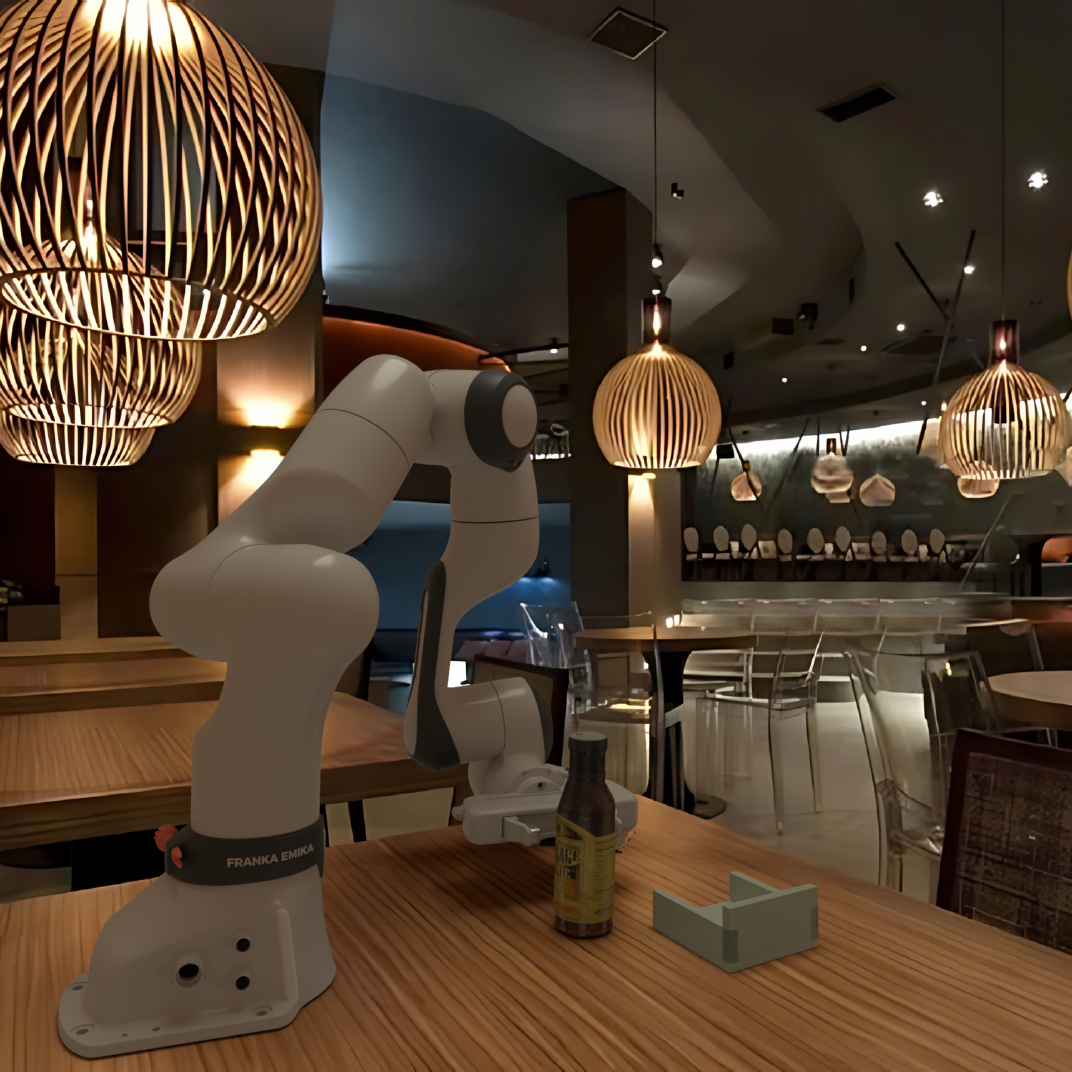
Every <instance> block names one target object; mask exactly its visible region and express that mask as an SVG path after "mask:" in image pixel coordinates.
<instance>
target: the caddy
mask: <svg viewBox="0 0 1072 1072" xmlns="http://www.w3.org/2000/svg"><path fill="white" fill-rule="evenodd" d="M652 928H653V929H654V930H657V931H658V932H659V933H662V934H663V935H665V936H666V937H668V938H669V939H671V940H673V941H675V942H677V943H679V944H680V945H682V946H683V947H686V948H687V949H689V950H690V951H692V952H693V953H695V954H697V955H699V956H700V957H702V958H703V959H705V960H706V961H709V962H711V963H712V964H713V965H714V966H715V965H716V966H717V967H719V968H720V969H722V970H724V971H725V972H727V973H729V974H732V973H735V972H738V971H742V970H746V969H748V968H751V967H755V966H758V965H761V964H762V965H763V964H764V963H769V962H771V961H774V960H778V959H781V958H785V957H788V956H790V955H795V954H797V953H801V952H805V951H808V950H810V949H814V948H817V947H819V886H818V885H815V884H813V883H806V884H801V885H798V886H794V887H789V888H786V889H779V888H776V887H775V886H774V887H773V886H772V885H769V884H767V883H765V882H762V881H760V880H757V879H755V878H754V877H751V876H749V875H747V874H745V873H742V872H739V871H737V870H736V871H731V872H729V900H727V901H723V902H718V903H715V904H710V905H709V904H708V905H706V906H702V907H701V906H700V907H697V906H695V905H693V904H691V903H690V902H687V901H685V900H684V899H681V898H680V897H678V896H676V895H674V894H672V893H670V892H668V891H666V890H665V889H662V888H657V889H656V888H655V889H652Z"/></svg>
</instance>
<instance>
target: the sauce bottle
mask: <svg viewBox="0 0 1072 1072" xmlns="http://www.w3.org/2000/svg"><path fill="white" fill-rule="evenodd" d="M608 738H609V737H608V736H607V735H606V734H605V733H602V732H597V731H587V730H585V731H584V730H583V731H575V732H572V733H570V734H569V735H568V741H567V748H568V750H569V760H568V761H569V763H568V764H569V765H568V766H569V767H568V768H569V772H568V774H569V776H568V779H567V782H566V784H565V787H564V790H563V793H562V796H561V799H560V802H559V804H558V807H557V810H556V836H555V837H554V838H555V840H554V889H553V890H554V891H553V910H554V913H555V914H554V917H555V923H554V924H555V926H556V927H557V929H558V930H559V931H561V932H563V933H565V934H567V935H570V936H571V937H573V938H574V937H575V938H592V937H597V936H602V935H604V934H607V933H609V932H610V931H611V929H612V928H613V924H614V922H613V916H614V913H615V884H616V882H615V880H616V879H615V878H616V877H615V876H616V850H617V849H616V827H615V800H614V797H613V796H612V793H611V792H610V790H609V788H608V786H607V784H606V782H605V779H606V775H607V772H606V752H607V751H608V747H609V746H608V745H609V744H608V742H609V740H608Z"/></svg>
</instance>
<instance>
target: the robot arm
mask: <svg viewBox="0 0 1072 1072" xmlns="http://www.w3.org/2000/svg"><path fill="white" fill-rule="evenodd" d="M537 400H538V399H537V398H536V395H535V392H534V391H533V390H532V388H531V387H530V385H529V384H528V383H527V381H526V380H525V379H524V378H523V377H522V375H520V374H518V373H515V372H512V371H508V370H505V369H497V368H485V369H483V370H477V369H475V370H474V369H448V368H447V369H445V368H444V369H443V368H442V369H434V370H427V371H423V370H422V369H421V368H420V367H418V365H417V364H415V363H413V362H411V361H410V360H408V359H406V358H403V357H401V356H398V355H394V354H387V353H386V354H377V355H373V356H370V357H368V358H366V359H365V360H363V361H361V363H360V364H358V365H357V366H356V367H355V368H353V370H351V371H350V372H349V373H348V374H347V375H346V376H345V377H344V378H343V379H342V380H341V381H340V382H339V383H338V384H337V385H336V387H334V388H333V390H332V391H330V393H329V395H328V396H327V397H326V398H325V400H323V402H322V403H321V405H320V406H319V407H318V408H317V410H316V411H315V413H314V414H313V416H311V419H310V420H309V421H308V423H307V424H306V425H305V427H304V429H303V430H302V431H301V433H300V435H299V436H297V439H296V440H295V442H294V443H293V444H292V446H291V447H290V448H289V450H288V451H287V453H286V454H285V456H284V457H283V458H282V459H281V461H280V463H279V464H278V465H277V467H276V468H275V469H274V471H273V472H272V473H271V474H270V475H269V476H268V478H266V480H264V482H263V483H261V485H260V486H259V487H258V488H257V489H256V490H254V491H253V492H252V494H251V495H249V496H248V497H247V499H245V500H244V501H243V502H242V503H240V505H239V506H238V507H237V508H235V509H234V510H233V511H232V512H231V513H230V514H229V515H228V516H227V517H226V518H225V519H224V520H223V521H221V523H220V524H219V525H218V526H217V527H215V529H213V530H212V531H211V532H210V533H209V534H208V535H207V536H206V537H205V538H203V539H202V540H201V541H200V542H198V544H196V545H194V547H192V548H190V549H189V550H187V551H185V552H184V553H183V554H180V555H179V556H178V557H176V558H174V559H172V560H171V561H169V562H168V563H167V564H166V565H164V567H163V568H162V569H161V570H160V571H159V572H158V574H157V576H156V577H155V579H154V580H153V584H152V586H151V588H150V589H151V590H150V593H149V601H148V602H149V606H148V607H149V613H150V618H151V620H152V621H151V622H152V623H153V626H154V627H155V629H156V631H157V632H158V634H160V636H161V637H162V638H163V639H164V640H166V641H167V642H168V643H170V644H171V645H173V646H175V647H176V648H178V649H179V650H182V651H184V652H185V653H187V654H189V655H191V656H194V657H196V658H198V659H202V660H206V661H211V662H212V661H213V662H221V663H226V672H225V677H224V682H223V685H222V690H221V692H220V696H219V699H218V702H217V704H216V707H215V709H214V711H213V713H212V714H211V716H210V718H209V719H208V720H206V721H205V722H203V724H201V726H200V727H199V728H198V729H197V731H196V733H195V735H194V737H193V740H192V745H191V782H190V784H191V785H190V786H191V791H190V793H191V795H190V822H189V823H188V824H187V825H185V826H184V827H182V828H180V830H178V828H176V826H175V825H174V824H170V823H168V824H166V823H165V824H162V825H161V826H159V827H158V830H156V831H155V833H154V834H155V835H154V836H153V838H154V842H155V843H156V846H157V849H158V850H160V851H161V852H164V870H165V872H164V873H162V874H161V875H160V876H159V877H157V878H156V879H155V880H154V881H152V882H151V883H150V884H149V885H148V886H146V888H144V889H143V890H142V891H141V892H139V893H138V894H136V896H134V897H133V898H132V899H131V900H130V901H128V902H127V903H126V904H125V905H123V906H122V907H121V908H120V909H119V910H117V911H116V912H115V913H113V915H111V916H110V917H109V918H108V919H107V921H106V922H105V923H104V924H103V926H102V928H101V930H100V932H99V935H98V937H97V940H96V942H95V946H94V948H93V952H92V955H91V961H90V965H89V968H88V970H87V971H84V972H82V973H79V974H78V975H77V976H75V978H73V979H72V980H71V981H70V982H69V983H68V984H67V986H65V988H64V990H63V991H62V993H61V996H60V999H59V1002H58V1010H57V1017H56V1018H57V1020H56V1025H57V1031H58V1035H59V1037H60V1040H61V1041H62V1042H63V1045H65V1047H67V1048H68V1050H70V1051H72V1052H73V1053H74V1054H77V1055H78V1056H81V1057H84V1058H88V1059H89V1058H101V1057H107V1056H113V1055H120V1054H125V1053H130V1052H131V1053H132V1052H138V1051H144V1050H145V1051H146V1050H150V1049H157V1048H164V1047H169V1046H175V1045H181V1044H182V1045H183V1044H188V1043H194V1042H200V1041H201V1042H202V1041H206V1040H207V1041H208V1040H212V1039H219V1038H225V1037H231V1036H238V1035H244V1034H250V1033H256V1032H263V1031H268V1030H276V1029H280V1028H283V1027H286V1026H287V1025H289V1024H290V1023H291V1022H292V1021H293V1020H294V1019H295V1018H296V1017H297V1015H298V1013H299V1012H300V1010H301V1009H302V1007H303V1006H304V1005H306V1004H308V1003H309V1002H310V1001H312V1000H313V999H315V998H316V997H317V996H320V994H322V993H324V991H325V990H326V989H327V988H328V987H329V986H330V985H331V983H332V982H333V981H334V980H335V979H334V978H335V977H336V973H337V966H336V963H335V959H334V956H333V953H332V949H331V948H332V947H331V945H330V940H329V936H328V931H327V925H326V924H327V923H326V919H325V910H324V909H325V908H324V902H323V892H322V890H323V889H322V878H323V876H324V869H325V868H324V867H325V862H326V840H327V839H326V829H325V818H324V815H323V814H321V813H320V804H321V803H320V800H321V767H322V766H321V765H322V748H323V747H322V745H323V737H324V735H323V734H324V729H325V724H326V721H327V720H326V719H327V716H328V711H329V708H330V705H331V702H332V699H333V696H334V694H335V691H336V689H337V687H338V684H339V682H340V680H341V678H342V676H343V674H344V673H345V671H346V670H347V668H348V667H349V666H350V665H351V663H352V662H353V661H354V660H355V659H357V657H359V656H360V655H361V654H362V653H363V652H364V651H365V650H366V649H367V647H368V646H369V644H370V643H371V641H372V639H373V637H374V635H375V633H376V630H377V627H378V624H379V617H380V597H379V591H378V588H377V584H376V582H375V580H374V578H373V576H372V574H371V572H370V571H369V570H368V568H367V567H366V566H365V565H364V564H363V563H362V562H361V561H359V560H357V559H356V558H355V557H354V556H350V555H349V554H345V553H347V552H349V551H350V550H352V549H354V548H356V547H357V546H359V545H362V543H364V542H365V541H366V540H367V539H368V538H369V537H371V535H373V533H374V532H375V530H376V529H377V527H378V526H379V524H380V522H381V521H382V519H383V517H384V515H385V513H386V512H387V510H388V508H389V507H390V505H391V503H392V502H393V500H394V498H395V497H396V495H397V493H398V491H399V490H400V488H401V486H402V484H403V483H404V481H405V479H406V478H407V476H408V474H409V472H410V470H411V468H412V467H413V465H414V463H415V464H420V465H429V466H430V465H431V466H442V467H446V468H447V469H448V471H449V473H450V475H451V478H450V493H449V494H450V496H449V509H450V531H449V532H450V533H449V537H448V541H447V544H446V547H445V550H444V552H443V554H442V556H441V558H440V559H439V560H438V561H436V562H435V563H434V564H433V565H431V566H430V567H429V569H428V571H427V573H426V578H425V581H424V583H423V585H424V586H423V590H422V595H421V603H420V609H419V617H418V625H417V634H416V642H415V650H414V658H413V659H414V660H413V667H412V669H413V670H412V676H411V682H410V683H411V684H410V690H409V694H408V699H407V703H406V704H407V705H406V710H405V715H404V719H403V720H404V721H403V739H404V742H405V743H404V744H405V746H406V749H407V750H406V751H407V754H408V756H409V757H410V758H411V759H412V760H413V761H415V763H417V764H419V765H420V766H421V767H423V768H425V769H427V770H429V771H432V772H434V773H438V772H443V771H446V770H448V769H449V770H450V769H451V768H455V767H460V766H461V765H464V764H468V763H469V764H468V770H467V776H468V777H467V778H468V783H469V786H470V788H471V791H472V793H473V795H471V796H468V797H466V798H465V799H464V800H463V802H462V803H461V804H460V806H453V807H452V809H451V814H452V817H454V819H455V820H457V821H462V830H463V834H464V836H465V838H466V839H467V841H468V842H469V843H470V844H474V845H478V846H479V845H480V846H483V845H484V846H485V845H492V844H493V845H494V844H495V845H496V844H504V843H510V842H511V843H512V842H514V843H520V844H521V843H522V844H523V846H525V847H533V846H539V845H540V844H541V841H543V840H546V839H549V838H555V836H556V810H557V807H558V804H559V802H560V799H561V796H562V793H563V790H564V787H565V784H566V782H567V779H568V776H569V774H568V772H569V767H564V766H558V765H554V764H551V763H546V762H547V761H548V758H549V756H550V754H551V751H552V748H553V744H554V722H553V716H552V711H551V707H550V704H549V702H548V700H547V698H546V697H545V695H544V694H543V693H542V692H541V691H540V689H539V688H538V687H537V686H536V685H535V684H534V683H533V682H532V681H530V679H528V678H526V677H523V676H521V675H520V676H515V677H509V678H508V677H507V678H502V679H495V680H493V679H492V680H488V681H486V682H480V683H473V684H467V685H460V686H452V687H450V686H448V685H449V678H450V669H451V662H452V654H453V653H452V651H453V644H454V636H455V631H456V628H457V626H458V624H459V623H460V621H461V619H462V618H463V616H464V615H466V613H468V612H469V611H470V610H471V609H473V608H474V607H476V606H477V605H478V604H480V603H481V602H483V601H485V600H487V599H489V598H491V597H494V596H495V595H497V594H499V593H501V592H503V591H505V590H506V589H509V588H510V587H511V586H513V585H514V584H516V583H518V581H519V580H521V579H522V578H523V577H524V575H526V574H527V573H528V572H529V570H530V569H531V568H532V566H533V564H534V562H535V561H536V559H537V556H538V553H539V545H540V519H539V514H540V513H539V501H538V500H539V498H538V491H537V490H538V489H537V484H536V477H535V473H534V472H535V471H534V467H533V462H532V458H531V453H530V451H531V450H532V448H533V445H534V443H535V441H536V438H537V434H538V432H539V426H540V412H539V405H538V401H537ZM605 782H606V784H607V786H608V788H609V790H610V792H611V793H612V796H613V797H614V800H615V827H616V837H618V836H622V830H627V829H633V830H634V829H635V828H636V827H637V825H638V821H639V820H638V819H639V802H638V798H637V796H636V795H635V794H634V793H633V792H632V791H630V790H629V789H627V788H625V787H624V786H622V785H621V784H618V783H617V782H615V781H612V780H610V779H607V778H605Z"/></svg>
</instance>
